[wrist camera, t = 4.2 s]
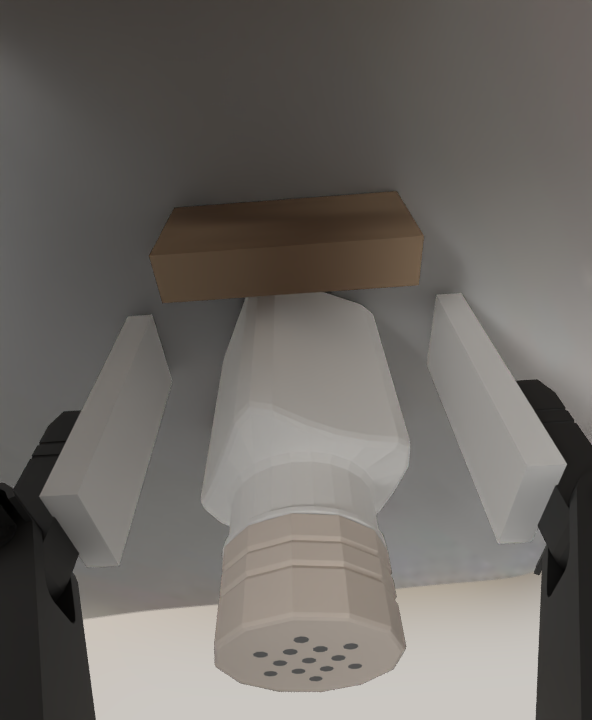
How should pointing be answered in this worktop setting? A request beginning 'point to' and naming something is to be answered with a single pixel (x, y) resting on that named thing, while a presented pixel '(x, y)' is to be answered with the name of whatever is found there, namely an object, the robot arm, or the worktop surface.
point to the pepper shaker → (305, 496)
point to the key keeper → (287, 247)
